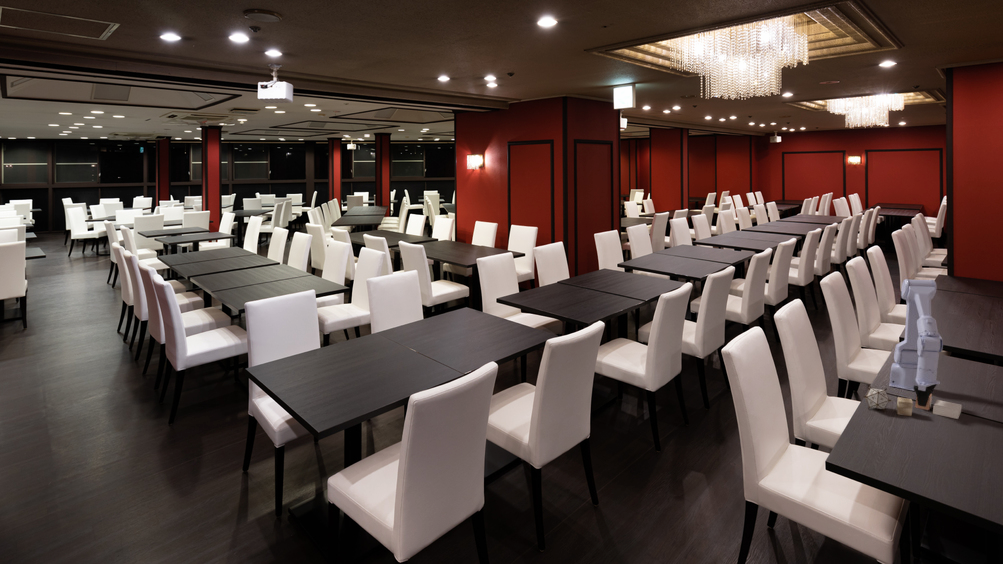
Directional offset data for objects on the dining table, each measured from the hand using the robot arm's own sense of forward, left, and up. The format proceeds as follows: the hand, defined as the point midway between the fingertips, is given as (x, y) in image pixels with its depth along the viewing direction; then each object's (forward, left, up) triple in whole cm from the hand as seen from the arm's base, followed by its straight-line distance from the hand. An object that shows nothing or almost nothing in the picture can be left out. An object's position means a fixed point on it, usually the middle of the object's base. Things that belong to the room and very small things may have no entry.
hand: (923, 403), depth 203 cm
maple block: (-4, -10, -2) cm, 11 cm away
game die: (-12, -12, -2) cm, 17 cm away
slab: (+7, -1, -1) cm, 7 cm away
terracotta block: (0, 0, -2) cm, 2 cm away
